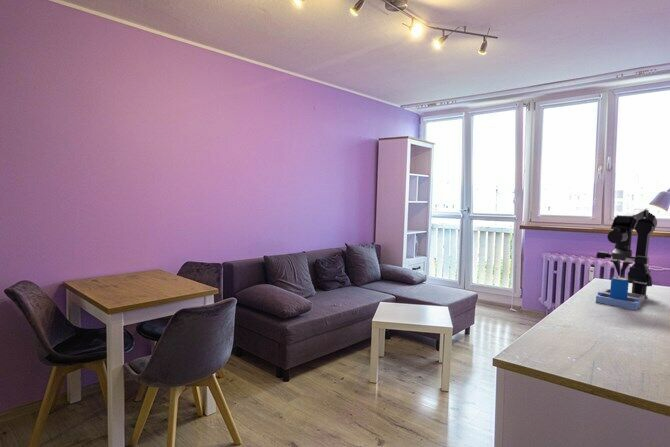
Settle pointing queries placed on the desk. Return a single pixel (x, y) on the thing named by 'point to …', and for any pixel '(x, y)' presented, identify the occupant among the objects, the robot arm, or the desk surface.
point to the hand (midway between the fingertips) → (620, 276)
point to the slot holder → (631, 302)
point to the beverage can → (619, 288)
